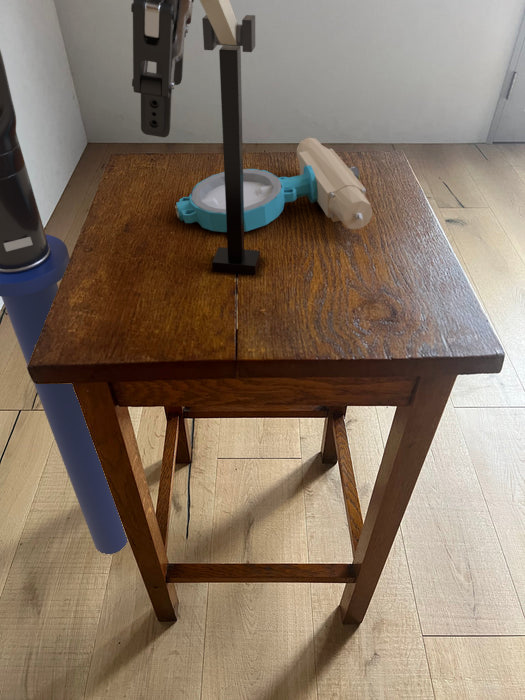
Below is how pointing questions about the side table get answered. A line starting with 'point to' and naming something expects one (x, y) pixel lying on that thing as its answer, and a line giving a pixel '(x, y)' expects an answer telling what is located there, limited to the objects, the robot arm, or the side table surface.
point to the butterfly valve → (283, 192)
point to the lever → (223, 22)
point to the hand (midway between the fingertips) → (162, 106)
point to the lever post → (233, 150)
